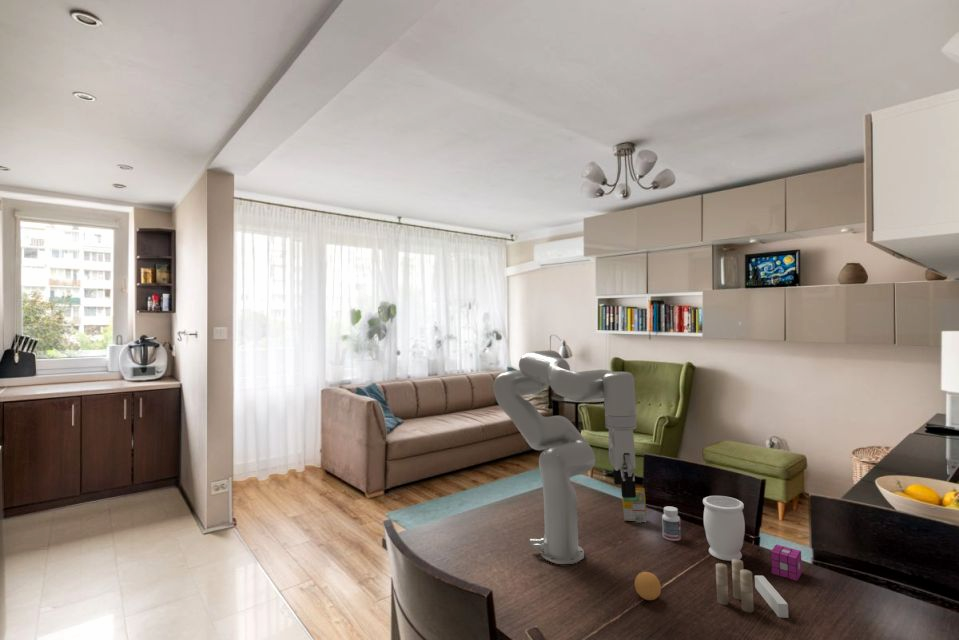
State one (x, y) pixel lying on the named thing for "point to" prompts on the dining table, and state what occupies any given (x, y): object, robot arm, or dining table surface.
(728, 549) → the jar
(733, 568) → the pin
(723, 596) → the pin front
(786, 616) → the back rail
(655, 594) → the ball
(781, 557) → the puzzle toy
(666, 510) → the pill bottle
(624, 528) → the dining table surface
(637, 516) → the crayon box
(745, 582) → the pin
